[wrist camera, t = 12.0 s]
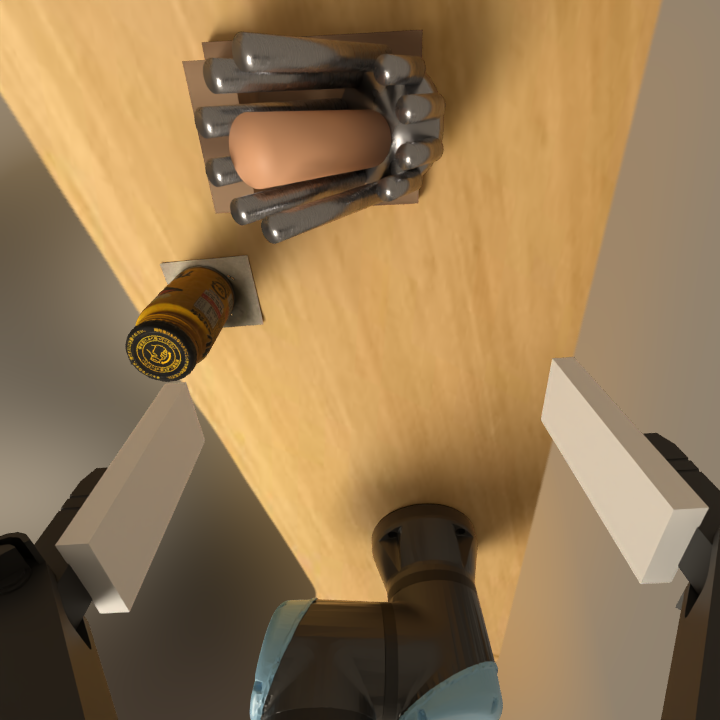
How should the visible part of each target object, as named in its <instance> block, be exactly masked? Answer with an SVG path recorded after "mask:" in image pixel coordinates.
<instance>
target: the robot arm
mask: <svg viewBox="0 0 720 720" xmlns="http://www.w3.org/2000/svg"><path fill="white" fill-rule="evenodd" d="M541 421H542V422H543V424H544V426H545V427H546V429H547V431H548V432H549V434H550V436H551V437H552V439H553V441H554V442H555V444H556V445H557V447H558V449H559V450H560V452H561V454H562V455H563V457H564V459H565V460H566V462H567V464H568V465H569V467H570V469H571V470H572V472H573V473H574V475H575V477H576V478H577V480H578V482H579V483H580V485H581V487H582V488H583V490H584V492H585V493H586V495H587V497H588V498H589V500H590V501H591V503H592V505H593V506H594V508H595V510H596V511H597V513H598V515H599V516H600V518H601V519H602V521H603V523H604V524H605V526H606V528H607V529H608V531H609V533H610V534H611V536H612V538H613V539H614V541H615V543H616V544H617V546H618V547H619V549H620V551H621V553H622V554H623V556H624V557H625V559H626V561H627V562H628V564H629V566H630V567H631V569H632V571H633V572H634V574H635V576H636V577H637V578H638V581H639V582H640V584H649V583H667V582H671V581H672V580H673V578H674V576H675V574H676V572H677V570H678V568H680V570H681V571H682V572H683V574H684V575H685V577H686V578H687V579H688V581H689V583H688V585H687V587H686V589H685V591H684V592H683V594H682V596H681V598H680V600H679V602H678V603H677V605H676V608H678V609H680V610H681V614H680V619H679V625H678V630H677V636H676V641H675V646H674V652H673V657H672V663H671V668H670V674H669V679H668V684H667V690H666V695H665V701H664V706H663V712H662V717H661V720H720V491H719V490H718V488H717V487H716V486H715V485H714V484H713V483H712V482H711V481H710V480H709V479H708V478H707V477H706V476H705V475H704V474H703V473H702V472H699V469H698V468H697V467H696V466H695V465H694V464H693V462H692V461H689V460H688V457H687V456H686V455H685V454H684V453H683V452H682V451H681V450H680V449H679V448H678V447H677V446H676V445H675V444H674V443H672V442H670V441H669V440H667V439H665V438H664V437H662V436H661V435H659V434H658V433H648V434H643V433H642V432H641V431H640V430H639V429H638V428H637V427H636V426H635V425H634V423H633V422H632V421H631V420H630V419H629V418H628V417H627V416H626V414H624V412H623V411H622V410H621V409H620V408H619V407H618V406H617V404H616V403H615V402H614V401H613V400H612V399H611V398H610V397H609V395H608V394H607V393H606V392H605V391H604V390H603V389H602V388H601V386H599V384H598V383H597V382H596V381H595V380H594V379H593V378H592V376H591V375H590V374H589V373H588V372H587V371H586V370H585V369H584V367H583V366H582V365H581V364H580V363H579V362H578V361H577V360H576V359H575V357H567V358H552V363H551V368H550V374H549V379H548V384H547V390H546V395H545V401H544V406H543V411H542V417H541ZM204 442H205V439H204V436H203V433H202V429H201V427H200V424H199V421H198V417H197V414H196V411H195V408H194V405H193V402H192V399H191V396H190V393H189V390H188V387H187V384H186V382H182V383H167V384H165V385H164V386H163V387H162V389H161V390H160V392H159V394H158V395H157V396H156V398H155V399H154V401H153V402H152V404H151V405H150V407H149V408H148V409H147V411H146V413H145V414H144V415H143V417H142V418H141V420H140V421H139V423H138V424H137V426H136V427H135V429H134V430H133V432H132V433H131V435H130V436H129V438H128V439H127V440H126V442H125V443H124V445H123V446H122V448H121V449H120V451H119V452H118V454H117V455H116V457H115V458H114V460H113V461H112V462H111V464H110V465H109V467H108V468H96V469H95V470H94V471H93V472H91V473H90V474H89V475H88V476H86V477H85V478H84V479H83V480H82V481H80V483H79V484H78V486H77V487H76V488H75V490H74V491H73V492H72V494H71V495H70V499H67V501H66V502H65V503H64V505H63V506H62V508H61V511H59V512H58V513H57V514H56V516H55V517H54V519H53V520H52V521H51V523H50V524H49V525H48V527H47V528H46V530H45V531H44V532H43V534H42V535H41V536H40V538H39V539H38V541H37V542H36V543H35V545H34V544H33V543H32V542H31V540H30V539H29V537H28V536H27V535H26V534H23V533H19V532H16V533H9V534H5V535H2V536H0V720H118V717H117V714H116V711H115V707H114V704H113V701H112V697H111V694H110V691H109V688H108V685H107V681H106V678H105V675H104V672H103V668H102V665H101V662H100V658H99V655H98V652H97V649H96V646H95V642H94V639H93V635H92V633H91V629H90V626H89V622H88V621H87V619H86V618H85V617H84V614H85V612H86V611H87V609H88V607H89V605H90V603H91V601H93V603H94V605H95V606H96V607H97V609H98V611H99V612H100V613H116V612H130V609H131V607H132V605H133V603H134V601H135V598H136V596H137V594H138V591H139V589H140V587H141V585H142V582H143V580H144V578H145V575H146V573H147V571H148V569H149V567H150V564H151V562H152V559H153V557H154V555H155V553H156V551H157V548H158V546H159V544H160V542H161V539H162V537H163V535H164V533H165V530H166V528H167V526H168V524H169V521H170V519H171V517H172V514H173V512H174V510H175V508H176V505H177V503H178V501H179V499H180V496H181V494H182V492H183V489H184V487H185V485H186V483H187V481H188V478H189V476H190V474H191V472H192V469H193V467H194V465H195V463H196V460H197V458H198V456H199V453H200V451H201V449H202V447H203V444H204ZM372 552H373V557H374V561H375V563H376V566H377V568H378V571H379V573H380V576H381V578H382V581H383V583H384V586H385V588H386V591H387V595H388V602H364V601H342V600H320V599H318V598H312V599H311V600H289V601H285V602H283V603H282V604H281V605H280V606H279V607H278V608H277V609H276V611H275V612H274V614H273V616H272V618H271V620H270V623H269V626H268V629H267V632H266V635H265V638H264V641H263V645H262V649H261V652H260V656H259V661H258V665H257V669H256V675H255V683H254V688H253V692H252V696H251V704H250V718H251V720H499V719H500V716H501V714H502V708H503V702H502V696H501V692H500V686H499V681H498V676H497V673H498V668H497V665H496V663H495V661H494V657H493V653H492V649H491V646H490V642H489V638H488V634H487V630H486V626H485V622H484V618H483V614H482V610H481V607H480V603H479V599H478V595H477V591H476V587H475V570H476V557H477V539H476V536H475V532H474V528H473V525H472V523H471V522H470V520H469V519H468V518H467V517H466V516H465V515H464V514H462V513H461V512H459V511H457V510H455V509H453V508H450V507H447V506H442V505H435V504H420V505H413V506H408V507H405V508H402V509H399V510H397V511H394V512H392V513H391V514H389V515H387V516H386V517H385V518H383V519H382V520H381V521H380V522H379V523H378V524H377V526H376V527H375V529H374V531H373V534H372Z"/></svg>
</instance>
